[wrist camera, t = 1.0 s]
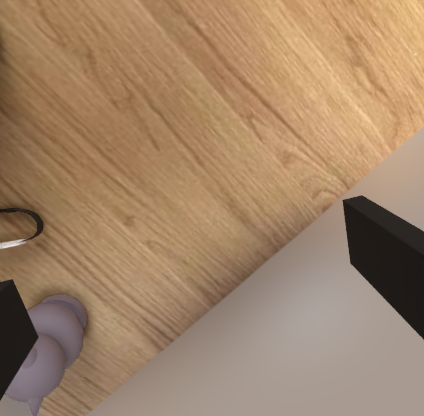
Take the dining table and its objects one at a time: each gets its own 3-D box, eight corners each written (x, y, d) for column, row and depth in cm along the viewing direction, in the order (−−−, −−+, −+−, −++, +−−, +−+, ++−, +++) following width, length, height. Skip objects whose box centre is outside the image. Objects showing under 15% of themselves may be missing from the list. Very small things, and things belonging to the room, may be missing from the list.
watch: (-14, 248, 43) (-32, 261, 40) (-28, 211, 42) (-48, 221, 38) (51, 237, 43) (39, 250, 40) (39, 199, 42) (26, 209, 38)
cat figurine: (25, 285, 45) (-32, 351, 33) (90, 285, 45) (56, 349, 34) (33, 344, 47) (-16, 424, 36) (95, 343, 48) (66, 421, 36)
